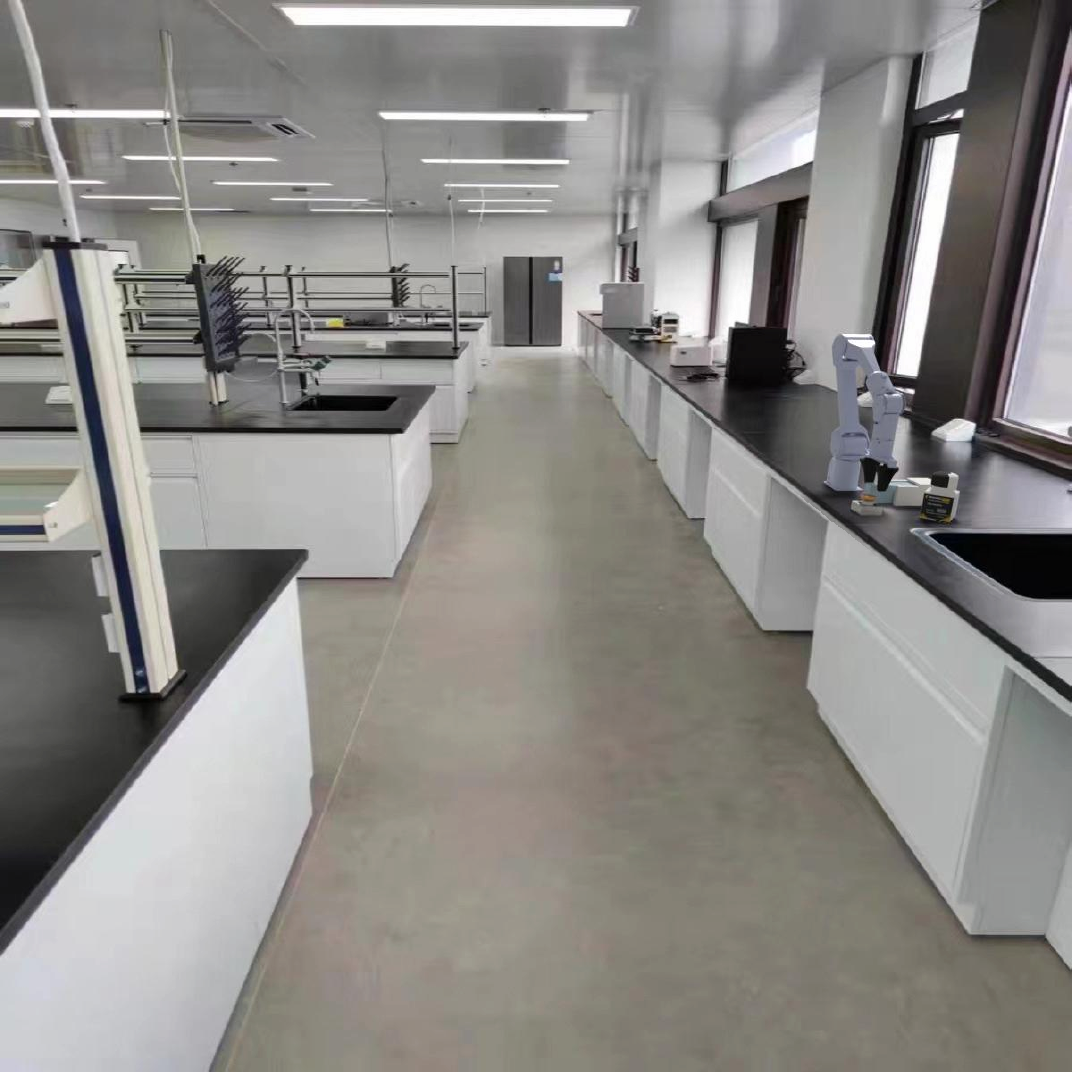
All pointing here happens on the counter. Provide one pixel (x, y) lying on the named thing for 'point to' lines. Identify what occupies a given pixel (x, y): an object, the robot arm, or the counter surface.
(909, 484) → the cartridge
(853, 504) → the plunger collar
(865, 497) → the gold-topped knob
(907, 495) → the housing
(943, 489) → the medicine bottle
